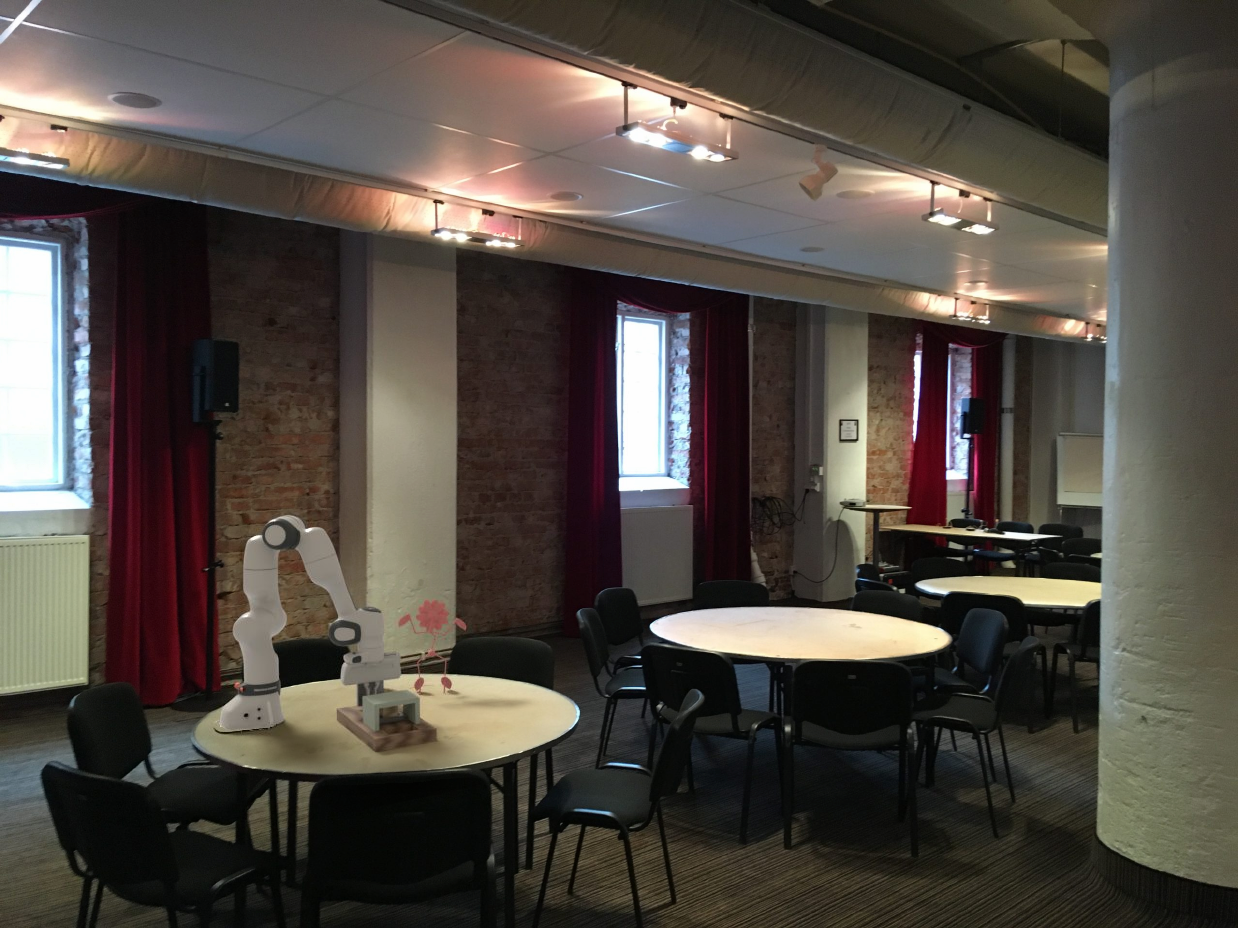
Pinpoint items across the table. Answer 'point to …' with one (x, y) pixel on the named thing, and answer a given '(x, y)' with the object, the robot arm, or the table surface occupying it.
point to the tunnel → (388, 700)
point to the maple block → (388, 711)
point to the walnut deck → (386, 730)
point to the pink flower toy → (432, 618)
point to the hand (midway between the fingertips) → (371, 694)
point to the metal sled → (363, 692)
